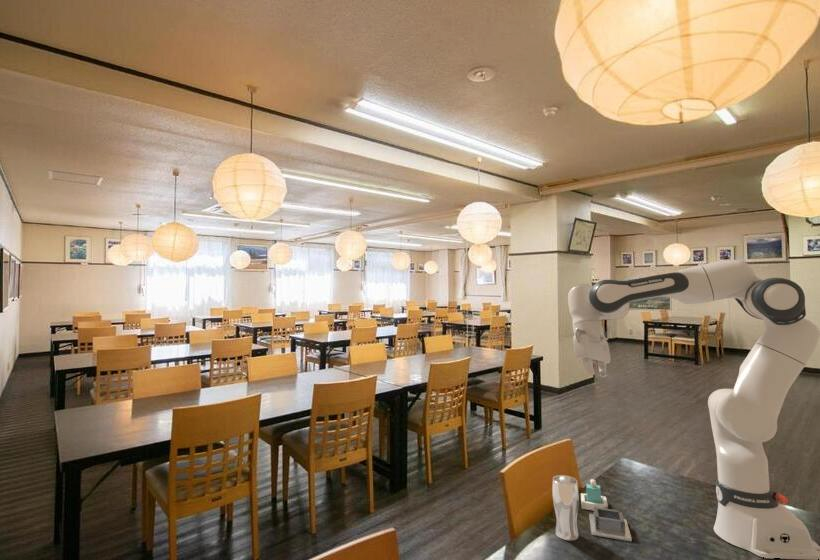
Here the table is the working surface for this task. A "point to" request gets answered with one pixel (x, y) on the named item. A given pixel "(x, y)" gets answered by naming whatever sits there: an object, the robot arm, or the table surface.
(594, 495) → the teal bottle
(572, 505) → the beer glass
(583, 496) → the white shallow rectangular tray
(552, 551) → the table surface
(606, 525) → the port
